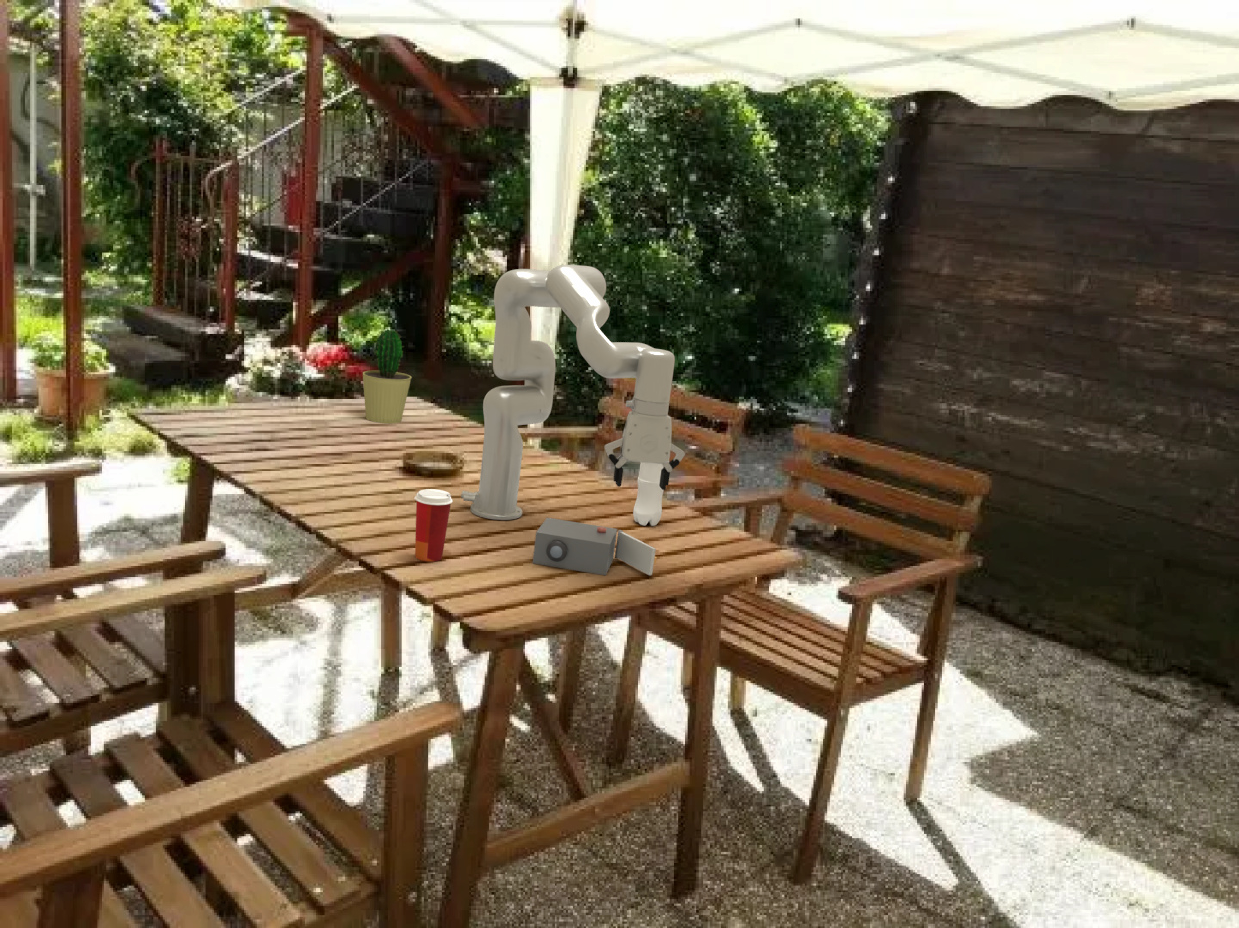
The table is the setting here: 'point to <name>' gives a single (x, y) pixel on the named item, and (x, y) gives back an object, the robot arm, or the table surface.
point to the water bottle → (648, 494)
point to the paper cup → (431, 523)
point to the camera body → (574, 546)
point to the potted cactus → (386, 382)
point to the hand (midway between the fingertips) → (640, 486)
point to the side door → (635, 553)
